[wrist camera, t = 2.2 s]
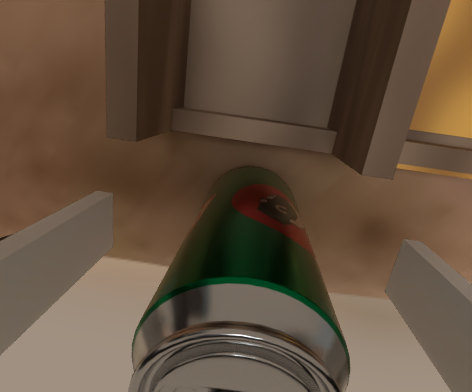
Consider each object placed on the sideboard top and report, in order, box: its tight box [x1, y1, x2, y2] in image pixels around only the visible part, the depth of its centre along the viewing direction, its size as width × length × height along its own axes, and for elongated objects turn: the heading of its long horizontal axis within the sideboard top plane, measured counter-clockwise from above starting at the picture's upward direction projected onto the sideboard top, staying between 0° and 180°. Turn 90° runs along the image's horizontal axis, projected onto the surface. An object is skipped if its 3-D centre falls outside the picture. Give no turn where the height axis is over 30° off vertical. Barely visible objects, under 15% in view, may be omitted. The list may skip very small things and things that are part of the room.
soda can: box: [128, 167, 350, 392], centre depth 11 cm, size 5×5×12 cm
